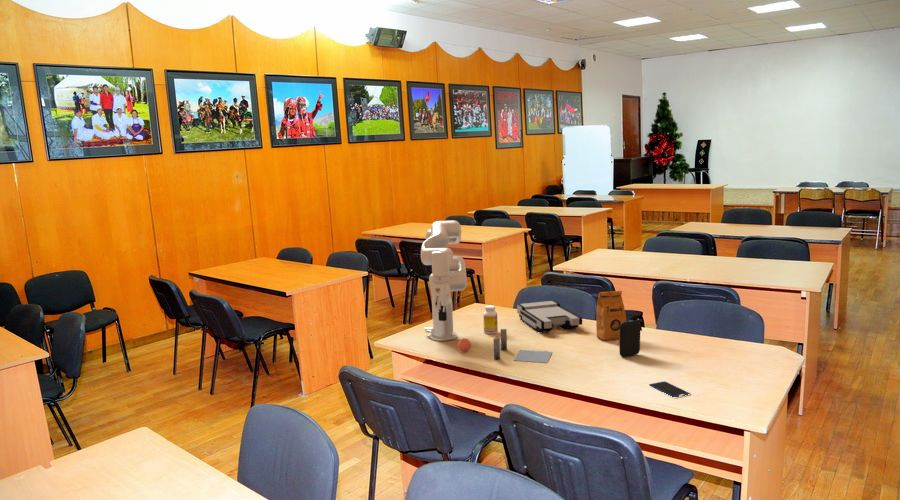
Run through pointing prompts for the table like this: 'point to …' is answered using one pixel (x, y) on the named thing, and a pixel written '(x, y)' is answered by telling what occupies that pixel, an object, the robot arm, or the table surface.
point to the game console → (547, 316)
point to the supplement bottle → (490, 320)
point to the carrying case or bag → (629, 338)
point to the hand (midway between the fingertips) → (442, 320)
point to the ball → (464, 345)
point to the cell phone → (669, 389)
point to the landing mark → (533, 356)
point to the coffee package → (609, 315)
